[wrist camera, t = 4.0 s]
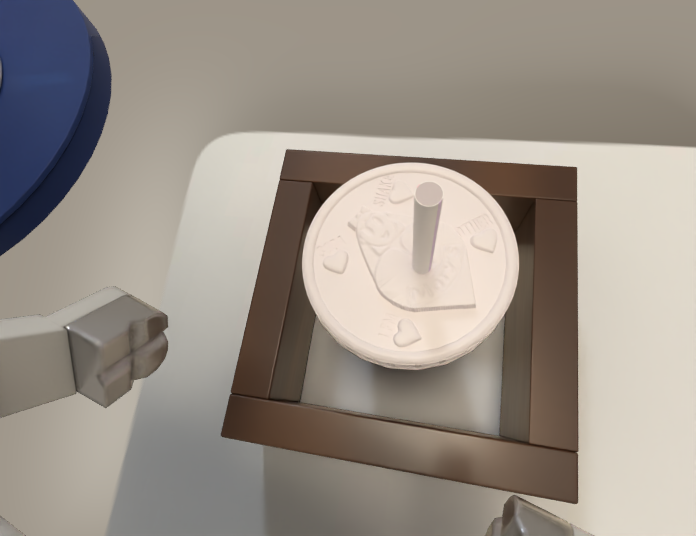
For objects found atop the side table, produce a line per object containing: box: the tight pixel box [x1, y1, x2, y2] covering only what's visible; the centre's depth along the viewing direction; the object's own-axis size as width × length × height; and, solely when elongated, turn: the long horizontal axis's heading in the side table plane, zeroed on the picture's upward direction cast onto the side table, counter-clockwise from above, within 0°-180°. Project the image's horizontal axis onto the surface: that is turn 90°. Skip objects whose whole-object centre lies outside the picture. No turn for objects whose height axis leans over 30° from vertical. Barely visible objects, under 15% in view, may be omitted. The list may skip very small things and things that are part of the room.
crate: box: [221, 149, 578, 504], centre depth 19 cm, size 13×13×5 cm
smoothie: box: [302, 163, 519, 370], centre depth 15 cm, size 6×6×14 cm
